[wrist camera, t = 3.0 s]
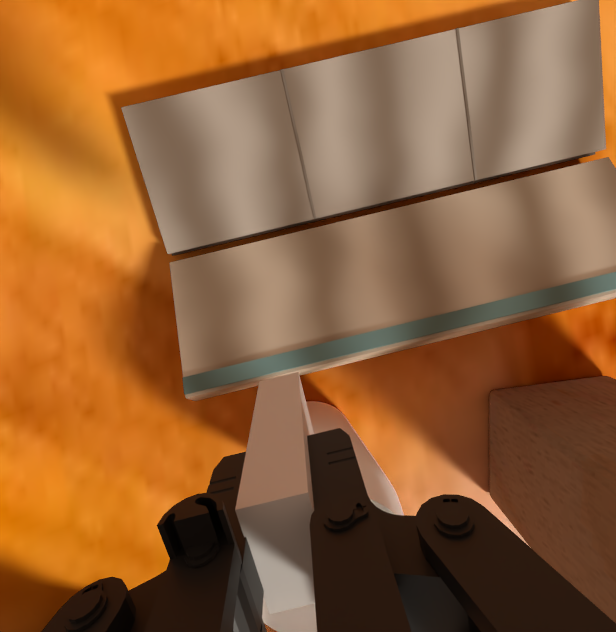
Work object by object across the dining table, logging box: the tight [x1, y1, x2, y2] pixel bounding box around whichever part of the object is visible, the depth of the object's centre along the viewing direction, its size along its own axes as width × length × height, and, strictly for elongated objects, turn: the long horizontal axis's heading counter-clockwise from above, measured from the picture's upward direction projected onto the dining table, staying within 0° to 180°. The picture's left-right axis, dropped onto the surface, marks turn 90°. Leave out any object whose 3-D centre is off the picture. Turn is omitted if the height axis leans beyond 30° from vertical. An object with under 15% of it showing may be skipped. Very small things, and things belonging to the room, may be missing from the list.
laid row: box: [121, 0, 606, 256], centre depth 24 cm, size 30×9×2 cm, turn 103°
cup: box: [262, 401, 404, 632], centre depth 24 cm, size 9×9×12 cm
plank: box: [170, 157, 616, 401], centre depth 24 cm, size 30×9×2 cm
